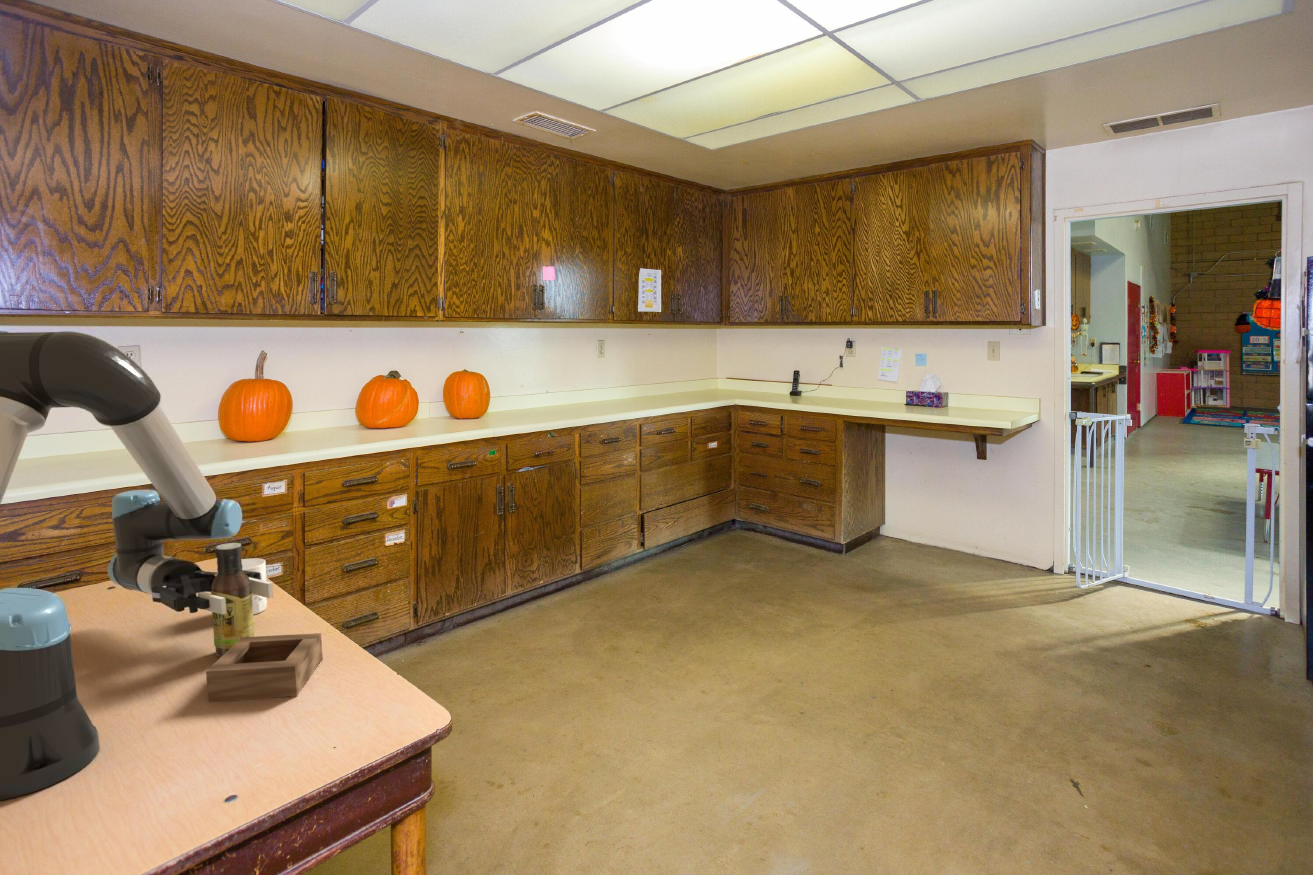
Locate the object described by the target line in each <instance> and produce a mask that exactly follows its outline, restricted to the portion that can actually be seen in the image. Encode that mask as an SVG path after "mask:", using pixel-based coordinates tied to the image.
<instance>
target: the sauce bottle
mask: <svg viewBox="0 0 1313 875" xmlns="http://www.w3.org/2000/svg"><path fill="white" fill-rule="evenodd" d="M242 548H243V547H242V544H241V543H238V542H227V543H221V544H218V545H217V546H215V549H214V553H215V554H214V555H215V557H216V565H217V568H216V570H217V572H218V574H217V576H216V577H215V578H214V581H213V583H212V586H211V592H210V594H212V595H216V596H220V597H224V598H225V600H226V612H227V613H225V614H223V615H222V614H218V613H215V612H212V613H211V614H212V615H211V616H212V628H213V629H212V631H213V644H214V646H215V654H216V655H217V656H218V657H219V658H221V657H222V656H223V655H224V654H225V653H226V652H227V651H228V650H229V649H230V648H231V647H232V646H233V645H234V644H235V643H236V642H237V641H238V640H239V639H240V638H241V637H255V630H254V615H253V607H252V592H251V584H250V579H249V577H248V576H247V575H246V574H245V573H244V572H243V570H242V562H241V560H242V552H243V549H242Z"/></svg>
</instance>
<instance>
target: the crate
mask: <svg viewBox="0 0 1313 875" xmlns="http://www.w3.org/2000/svg"><path fill="white" fill-rule="evenodd" d="M322 644H323V643H322V632H318V633H317V632H315V633H300V634H299V633H298V634H295V633H294V634H281V635H279V634H277V635H263V636H261V635H259V636H258V635H257V636H254V637H241V638H240V639H239V640H238V641H237V642H236V643H235V644H234V645H233V646H232V647H231V648H230V649H229V650H228V651H227V652H226V653H225V654H224V655H223V656H222V657H219V659H218V660H216V661H215V662H214V663H213V665H211V666H210V667H209V668H208V669H207V670H206V671H205V673H206V685H207V698H208V702H209V703H210V702H211V703H212V702H225V701H230V702H231V701H244V700H246V701H247V700H258V699H260V700H261V699H274V697H278V698H285V697H284V696H293V697H298V696H299V694H300V693H301V691H302V690H303V689H302V688H304V687H305V686H306V684H307V683H308V682H309V680H310V679H311V677H312V676H313V675H314V673H315V672H316V671H315V670H317V669H318V668H317V667H319V666H320V665H321V664H320V662H321V661H322V660H324V659H323V658H324V657H323V645H322ZM322 662H323V661H322ZM322 662H321V663H322ZM319 664H320V665H319ZM318 665H319V666H318ZM316 668H317V669H316ZM314 671H315V672H314ZM313 672H314V673H313ZM312 674H313V675H312ZM311 675H312V676H311ZM310 676H311V677H310ZM309 678H310V679H309ZM307 681H308V682H307ZM306 682H307V683H306ZM304 685H305V686H304ZM299 692H300V693H299ZM297 695H298V696H297ZM272 697H273V698H272Z"/></svg>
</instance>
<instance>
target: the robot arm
mask: <svg viewBox="0 0 1313 875" xmlns="http://www.w3.org/2000/svg"><path fill="white" fill-rule="evenodd" d="M161 402H162V395H161V392H160V391H159V389H158V388H157V386H156V384H155V383H154V381H153V380H152V379H151V377H150V376H149V375H148V374H147V372H145V370H144V369H142V367H140V365H138V364H137V363H136V362H135V361H134V360H133V359H132V358H131V357H129V356H128V355H127V354H125V353H124V352H123V351H121V350H120V349H119V348H117V347H116V346H113V345H112V344H111V343H108V342H107V341H105V340H103V339H100V338H99V337H96V336H93V335H90V334H88V333H87V334H86V333H83V332H77V331H68V330H67V331H42V332H41V331H40V332H39V331H38V332H37V331H32V332H31V331H30V332H25V331H22V332H21V331H20V332H11V331H6V330H0V505H1V504H2V501H3V498H4V496H5V493H6V490H8V489H7V488H8V486H9V483H10V480H11V477H12V475H13V472H14V470H15V467H16V465H17V462H18V460H19V457H20V454H21V451H22V449H23V446H24V444H25V442H26V438H27V436H28V435H29V434H30V433H32V432H36V431H39V430H40V429H42V428H43V427H44V426H45V425H46V424H45V423H46V421H47V418H48V416H49V415H50V411H51V409H55V408H78V409H82V410H85V411H87V412H89V413H91V415H92V416H93V417H94V418H95V421H96V422H98V423H99V424H100V425H103V426H105V427H110V428H111V430H112V431H113V433H115V435H116V436H117V438H118V440H120V442H121V443H122V444H123V446H124V447H125V448H126V449H125V450H127V451H128V452H129V454H130V455H131V457H132V459H134V461H135V462H136V464H137V466H139V468H140V469H141V471H142V472H143V473H144V475H145V476H146V477H147V479H148V480H149V482H150V483H151V484H152V485H153V487H154V488H155V489H156V490H154V489H134V490H129V491H124V492H120V493H117V494H116V495H114V496H113V497H112V499H111V512H112V515H111V520H112V525H113V531H114V532H113V534H114V542H115V554H114V555H113V556H112V558H110V560H109V562H108V565H107V575H108V578H109V579H110V580H111V582H113V583H114V584H115V585H117V586H119V587H120V586H121V587H122V588H123V589H126V590H130V591H138V592H141V593H144V594H147V595H151V598H152V599H151V600H152V602H153V603H161V604H163V605H164V606H166V607H167V608H170V609H172V610H174V611H175V612H179V613H180V612H183V611H185V608H189V609H188V610H189V613H190V614H195V613H198V611H199V609H200V610H205V611H208V612H215V613H218V614H222V615H223V614H225V613H227V612H226V600H225V598H224V597H220V596H216V595H212V594H211V586H212V583H213V581H214V578H215V577H216V576H217V574H218V571H217V572H215V571H205V570H202V568H201V567H200V566H199V565H198V564H197V563H195V562H193V561H189V560H185V559H181V558H178V557H172V556H169V555H168V556H167V555H165V554H164V541H173V540H174V541H175V540H176V541H177V540H178V541H179V540H184V541H185V540H212V541H215V540H217V539H218V540H219V539H230V538H233V537H235V536H236V535H237V534H238V533H239V531H240V529H241V526H242V522H243V511H242V507H241V506H240V504H239V503H238V501H236V500H234V499H233V500H232V499H226V498H224V499H223V498H222V499H220V498H219V497H218V496H217V495H216V494H217V493H215V492H214V490H213V488H212V486H211V485H210V484H209V482H208V481H207V479H206V477H205V476H204V474H203V473H202V471H201V469H200V468H199V466H198V464H197V463H196V461H195V459H194V457H193V456H192V455H191V453H190V452H189V450H188V449H187V447H186V446H185V444H184V442H183V441H182V439H181V438H180V436H179V434H178V433H177V431H176V429H175V428H174V426H173V425H172V423H171V422H170V420H169V419H168V417H167V415H166V414H165V412H164V411H163V408H162V407H161ZM160 497H161V498H162V499H163V500H161V498H160ZM243 572H244V573H245V574H246V575H247V576H248V577H249V579H250V584H251V592H252V594H254V595H258V596H262V597H266V598H267V599H272V598H274V590H273V582H271V581H268V580H267V581H263V580H261V576H260V572H252V571H244V570H243ZM71 625H72V624H71V622H70V620H69V618H68V613H67V610H66V604H65V603H64V601H63V600H62V598H61V597H60V596H59V595H58V594H55V593H53V592H51V591H48V590H44V589H39V588H30V587H7V588H3V589H0V801H3V800H8V799H12V798H16V797H20V796H24V795H27V794H30V793H33V792H36V791H39V790H43V789H45V788H48V787H50V786H52V785H55V784H57V783H58V782H61V781H64V780H65V779H67V778H69V777H71V776H72V775H74V774H76V773H78V772H79V771H81V770H83V769H84V768H85V767H87V766H88V765H89V764H90V763H91V762H92V761H93V760H94V759H95V758H96V757H97V755H98V754H99V752H100V749H101V745H100V738H99V733H98V729H97V728H96V726H95V725H94V724H93V722H92V720H91V718H90V717H89V715H88V713H87V711H86V709H85V708H84V707H83V704H82V703H81V701H80V699H79V698H78V691H77V685H76V674H75V665H74V657H73V648H72V640H71V630H72V627H71Z"/></svg>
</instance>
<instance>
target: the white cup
mask: <svg viewBox="0 0 1313 875" xmlns="http://www.w3.org/2000/svg"><path fill="white" fill-rule="evenodd" d="M241 562H242V570H244V571H252V572H260V576H261V580H263V581H267V582H268V580H267V566H266V565H267V563H266V562H267V561H266V560H265V559H264V558H256V557H255V558H252V557H251V558H244V559H243V558H241ZM252 607H253V616H254V615H256V614H259V613H260V614H261V613H262V612H264V611H265V610H266V609H267V608H268V598H266V597H262V596H258V595H254V594H252Z"/></svg>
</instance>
